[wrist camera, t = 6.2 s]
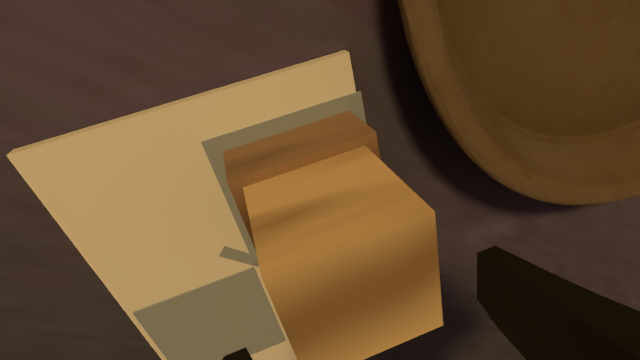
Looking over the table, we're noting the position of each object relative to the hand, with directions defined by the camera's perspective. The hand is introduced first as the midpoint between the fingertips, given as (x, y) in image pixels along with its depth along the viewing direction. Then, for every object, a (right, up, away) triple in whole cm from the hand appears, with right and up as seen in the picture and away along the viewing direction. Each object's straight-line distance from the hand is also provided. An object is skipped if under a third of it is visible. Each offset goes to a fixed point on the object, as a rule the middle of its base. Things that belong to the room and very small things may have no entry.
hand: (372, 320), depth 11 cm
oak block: (-2, +3, +5) cm, 6 cm away
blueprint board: (-5, 0, +9) cm, 10 cm away
